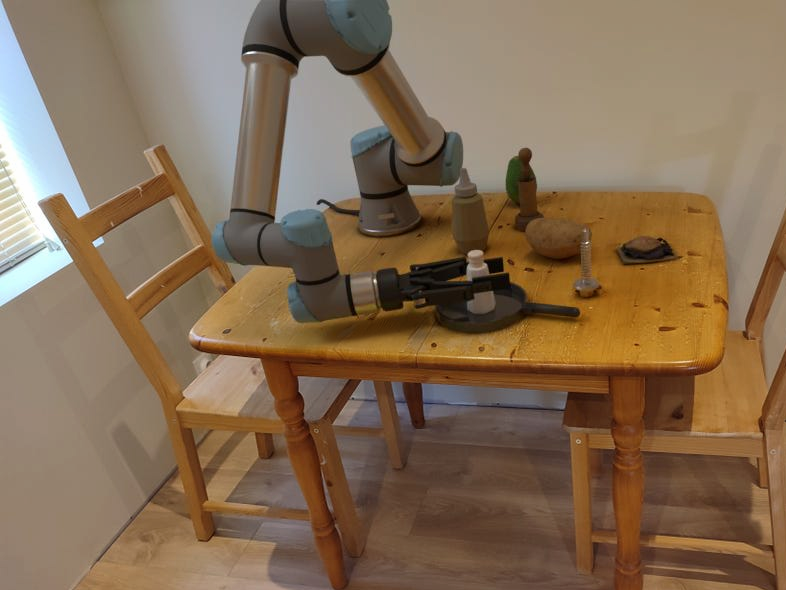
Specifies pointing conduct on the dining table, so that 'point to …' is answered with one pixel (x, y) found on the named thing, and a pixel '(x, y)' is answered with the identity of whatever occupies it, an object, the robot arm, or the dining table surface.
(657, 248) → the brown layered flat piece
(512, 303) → the pan
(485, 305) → the salt shaker
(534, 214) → the mortar and pestle
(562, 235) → the potato
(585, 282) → the screw
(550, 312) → the pan handle
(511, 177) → the avocado
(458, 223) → the squeeze bottle
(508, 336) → the dining table surface
